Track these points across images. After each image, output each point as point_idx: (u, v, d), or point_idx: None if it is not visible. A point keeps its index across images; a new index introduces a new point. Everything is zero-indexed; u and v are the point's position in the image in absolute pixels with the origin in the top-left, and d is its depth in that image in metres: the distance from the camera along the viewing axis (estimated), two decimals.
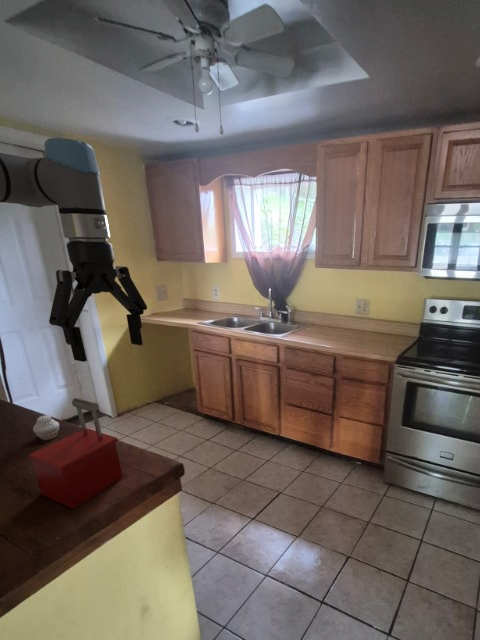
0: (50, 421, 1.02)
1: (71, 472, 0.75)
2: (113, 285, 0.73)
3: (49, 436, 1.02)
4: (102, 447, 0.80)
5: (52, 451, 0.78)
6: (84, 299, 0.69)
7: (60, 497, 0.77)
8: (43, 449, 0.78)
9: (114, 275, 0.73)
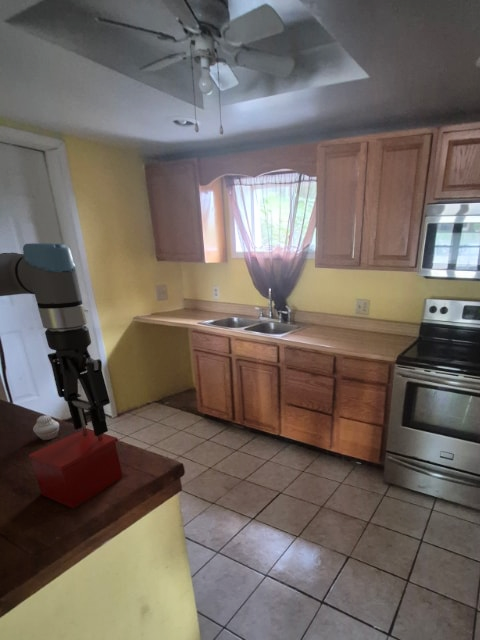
0: (50, 421, 1.02)
1: (71, 472, 0.75)
2: None
3: (49, 436, 1.02)
4: (102, 447, 0.80)
5: (52, 451, 0.78)
6: None
7: (60, 497, 0.77)
8: (43, 449, 0.78)
9: None
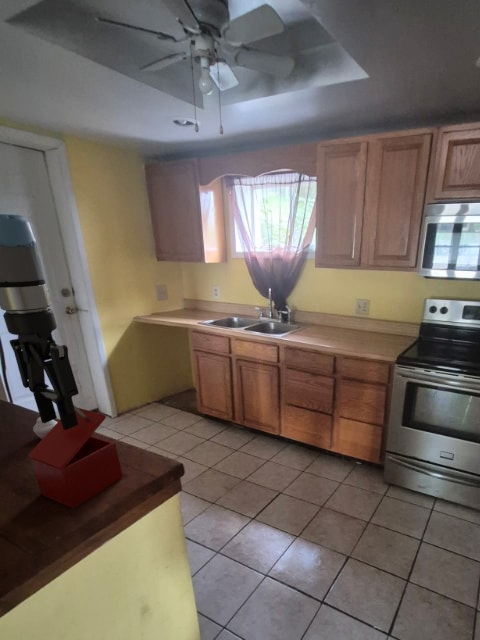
0: (50, 421, 1.02)
1: (71, 472, 0.75)
2: None
3: None
4: (92, 431, 0.77)
5: (47, 446, 0.77)
6: None
7: (60, 497, 0.77)
8: (39, 445, 0.77)
9: None
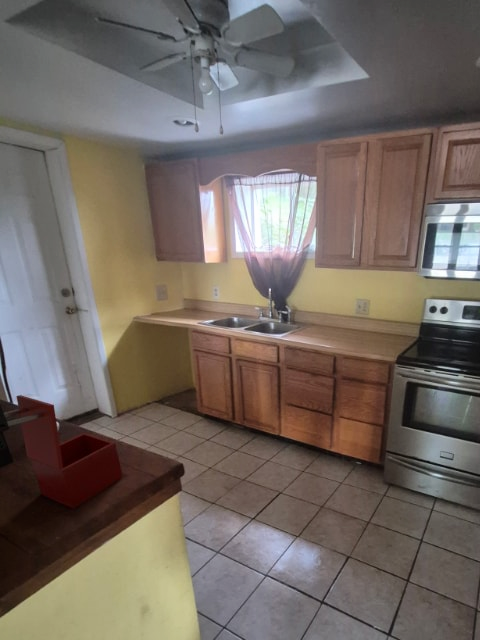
0: None
1: (71, 472, 0.75)
2: None
3: None
4: (54, 425, 0.70)
5: (34, 447, 0.74)
6: None
7: (60, 497, 0.77)
8: (27, 446, 0.75)
9: None
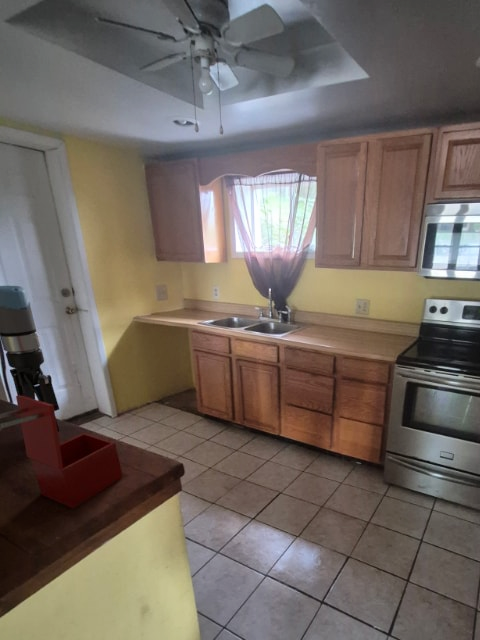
0: None
1: (71, 472, 0.75)
2: None
3: None
4: (54, 425, 0.70)
5: (34, 447, 0.74)
6: None
7: (60, 497, 0.77)
8: (27, 446, 0.75)
9: None
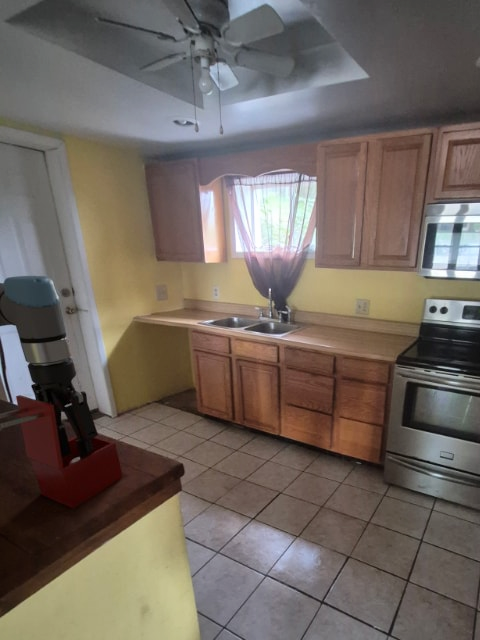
0: None
1: (71, 472, 0.75)
2: None
3: None
4: (54, 425, 0.70)
5: (34, 447, 0.74)
6: None
7: (60, 497, 0.77)
8: (27, 446, 0.75)
9: None
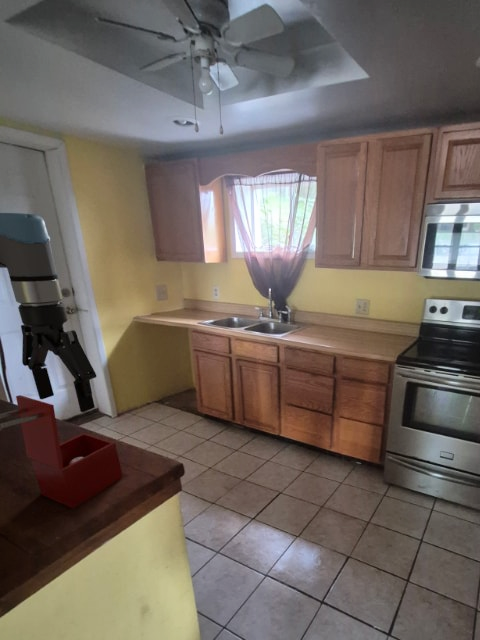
0: None
1: (71, 472, 0.75)
2: None
3: None
4: (54, 425, 0.70)
5: (34, 447, 0.74)
6: None
7: (60, 497, 0.77)
8: (27, 446, 0.75)
9: None
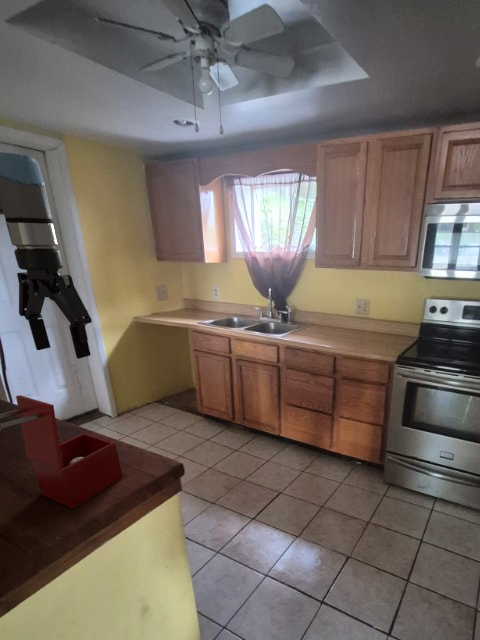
0: None
1: (71, 472, 0.75)
2: None
3: None
4: (54, 425, 0.70)
5: (34, 447, 0.74)
6: None
7: (60, 497, 0.77)
8: (27, 446, 0.75)
9: None
